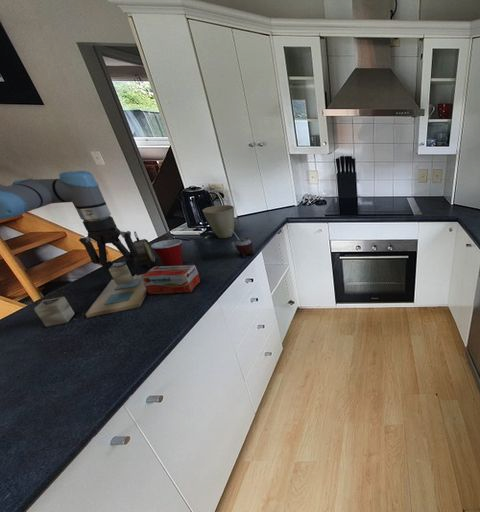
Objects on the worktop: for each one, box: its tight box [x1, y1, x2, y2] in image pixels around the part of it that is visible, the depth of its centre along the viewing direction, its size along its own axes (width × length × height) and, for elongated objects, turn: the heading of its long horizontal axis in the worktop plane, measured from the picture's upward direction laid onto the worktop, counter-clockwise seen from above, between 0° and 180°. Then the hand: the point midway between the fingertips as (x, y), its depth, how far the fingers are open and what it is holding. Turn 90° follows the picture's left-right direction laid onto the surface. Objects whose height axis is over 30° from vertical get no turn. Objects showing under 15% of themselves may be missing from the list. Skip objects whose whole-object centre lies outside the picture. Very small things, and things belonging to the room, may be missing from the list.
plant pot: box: [201, 204, 235, 239], centre depth 150 cm, size 15×15×16 cm
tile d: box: [33, 296, 75, 328], centre depth 87 cm, size 5×5×7 cm
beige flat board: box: [85, 273, 148, 319], centre depth 102 cm, size 14×24×2 cm, turn 26°
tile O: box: [108, 261, 137, 286], centre depth 103 cm, size 5×5×7 cm
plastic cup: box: [150, 239, 184, 266], centre depth 118 cm, size 11×11×12 cm
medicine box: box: [141, 264, 201, 295], centre depth 104 cm, size 15×8×8 cm, turn 98°
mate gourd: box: [227, 229, 254, 259], centre depth 129 cm, size 8×8×15 cm
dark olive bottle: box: [133, 230, 156, 270], centre depth 118 cm, size 11×5×16 cm, turn 32°
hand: (124, 276), depth 104 cm, fingers closed on tile O, 5 cm apart
